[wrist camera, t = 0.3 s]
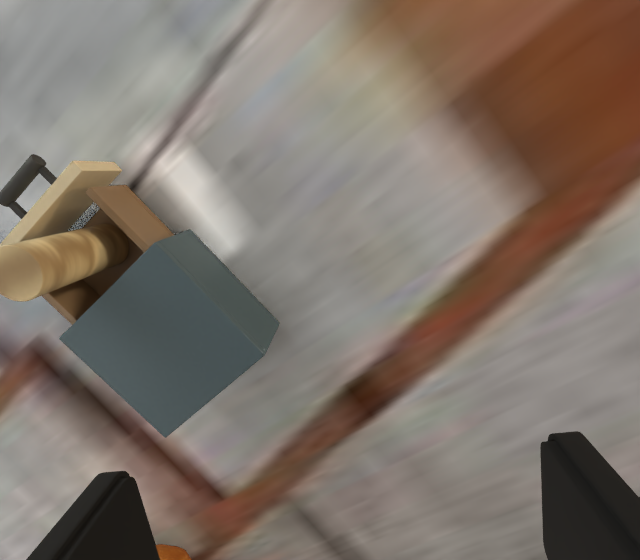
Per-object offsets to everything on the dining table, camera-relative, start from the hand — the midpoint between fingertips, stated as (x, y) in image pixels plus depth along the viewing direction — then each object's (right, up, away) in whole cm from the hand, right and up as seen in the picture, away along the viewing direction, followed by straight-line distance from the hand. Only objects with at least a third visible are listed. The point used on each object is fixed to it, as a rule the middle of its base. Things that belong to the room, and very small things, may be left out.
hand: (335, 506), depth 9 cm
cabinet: (-15, +1, +39) cm, 42 cm away
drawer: (-24, +10, +36) cm, 45 cm away
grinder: (-23, +9, +35) cm, 43 cm away
